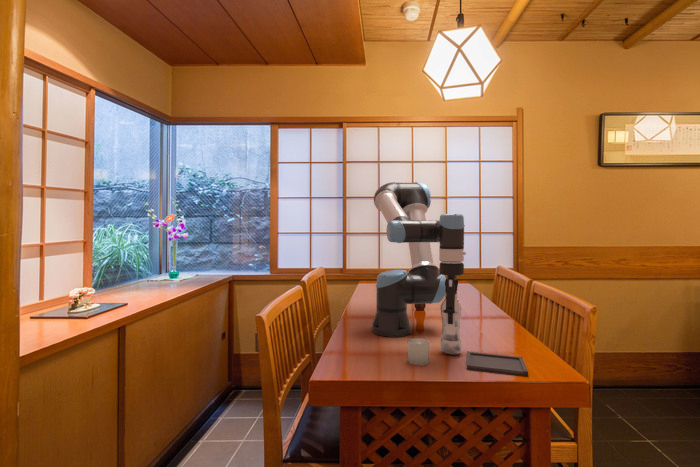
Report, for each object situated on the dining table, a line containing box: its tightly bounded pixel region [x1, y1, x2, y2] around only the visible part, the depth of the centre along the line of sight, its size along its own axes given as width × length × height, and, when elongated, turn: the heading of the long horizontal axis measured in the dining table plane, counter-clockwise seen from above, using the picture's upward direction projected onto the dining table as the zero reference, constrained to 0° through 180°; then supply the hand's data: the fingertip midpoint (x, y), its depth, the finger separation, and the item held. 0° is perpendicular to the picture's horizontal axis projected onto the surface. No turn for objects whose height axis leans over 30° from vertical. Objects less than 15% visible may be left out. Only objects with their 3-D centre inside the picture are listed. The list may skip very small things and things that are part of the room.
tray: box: [466, 351, 529, 377], centre depth 110 cm, size 16×12×1 cm
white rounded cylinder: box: [407, 338, 430, 367], centre depth 113 cm, size 6×6×6 cm
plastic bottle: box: [439, 292, 463, 355], centre depth 120 cm, size 6×7×20 cm
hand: (451, 328), depth 120 cm, fingers open, 13 cm apart
